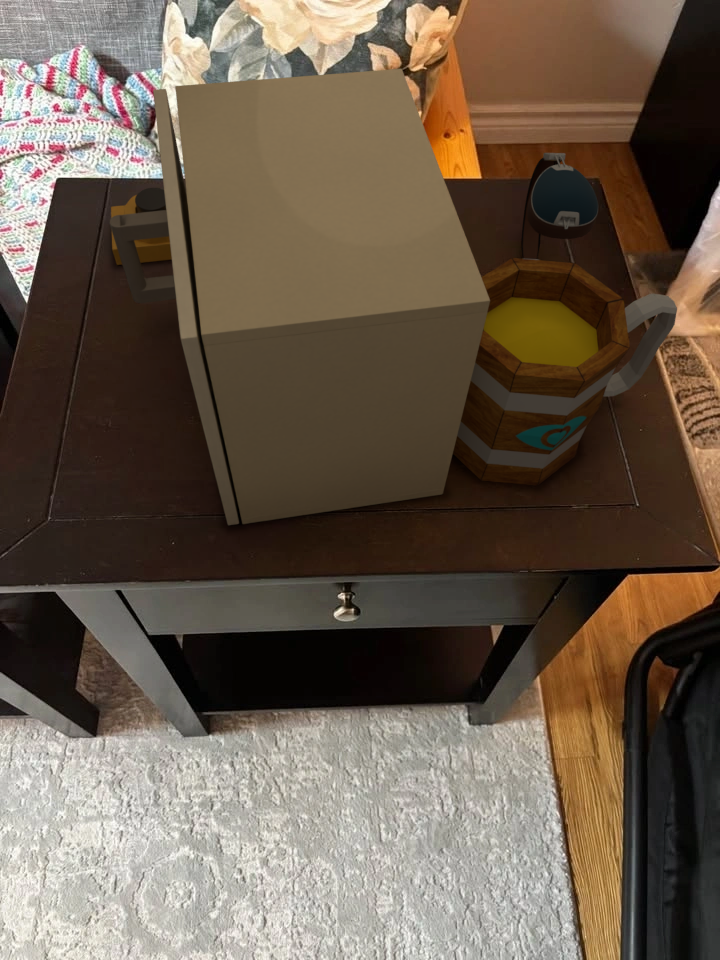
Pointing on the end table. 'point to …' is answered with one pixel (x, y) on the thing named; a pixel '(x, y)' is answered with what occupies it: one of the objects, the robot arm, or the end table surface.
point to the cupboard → (328, 289)
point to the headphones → (556, 204)
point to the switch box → (145, 247)
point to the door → (177, 289)
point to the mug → (549, 366)
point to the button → (150, 200)
